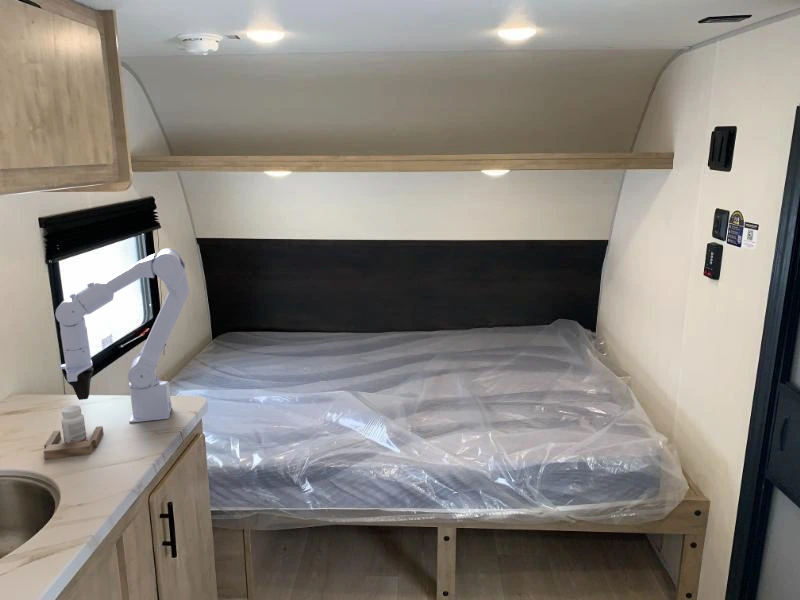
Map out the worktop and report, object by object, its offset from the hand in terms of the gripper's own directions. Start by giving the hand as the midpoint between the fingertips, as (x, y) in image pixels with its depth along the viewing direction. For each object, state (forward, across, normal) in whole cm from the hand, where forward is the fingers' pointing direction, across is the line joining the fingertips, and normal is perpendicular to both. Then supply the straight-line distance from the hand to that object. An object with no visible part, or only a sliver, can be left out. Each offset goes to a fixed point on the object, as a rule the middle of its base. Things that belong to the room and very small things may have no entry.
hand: (83, 398), depth 154 cm
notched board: (+7, +12, 0) cm, 14 cm away
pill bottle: (+7, +10, 0) cm, 12 cm away
